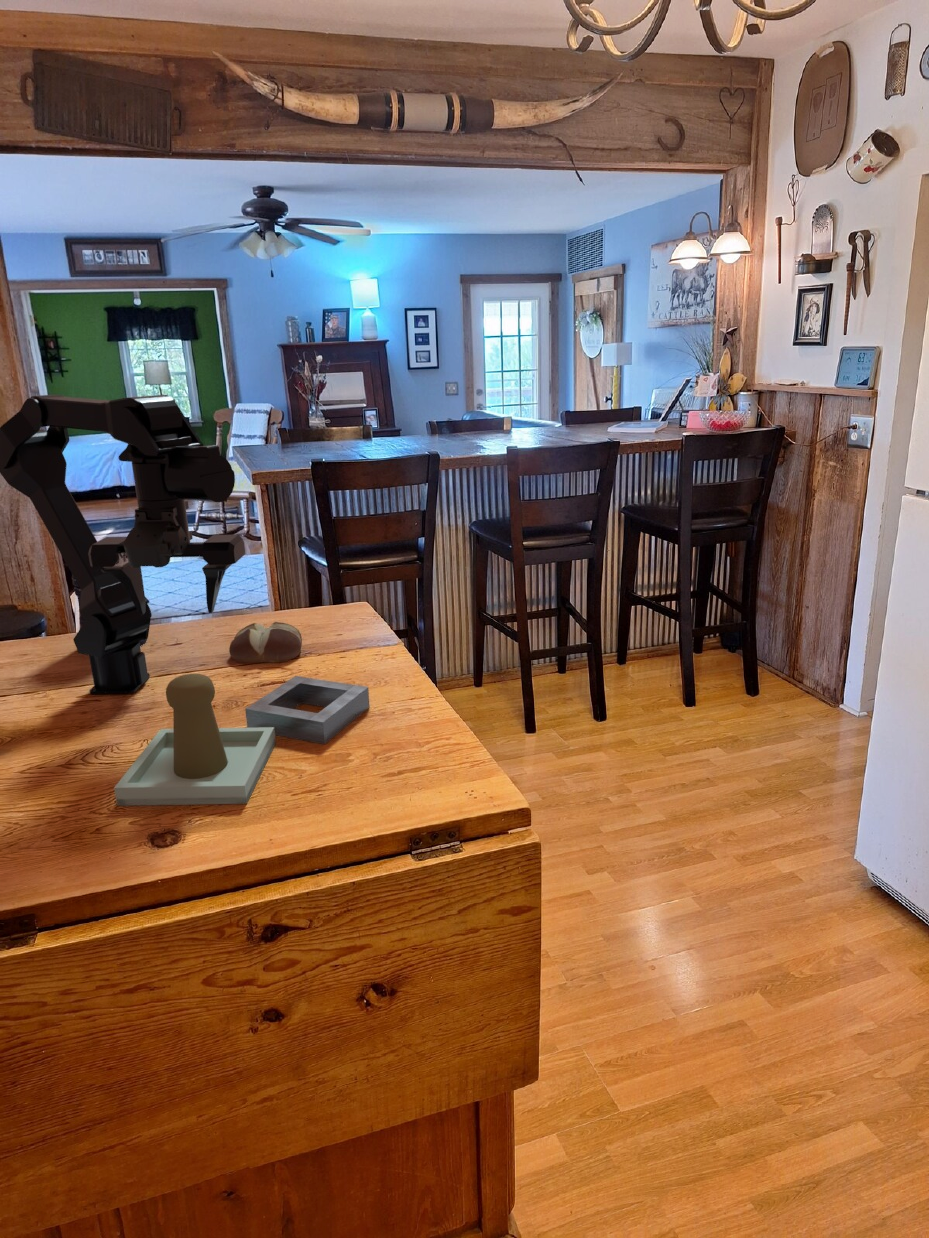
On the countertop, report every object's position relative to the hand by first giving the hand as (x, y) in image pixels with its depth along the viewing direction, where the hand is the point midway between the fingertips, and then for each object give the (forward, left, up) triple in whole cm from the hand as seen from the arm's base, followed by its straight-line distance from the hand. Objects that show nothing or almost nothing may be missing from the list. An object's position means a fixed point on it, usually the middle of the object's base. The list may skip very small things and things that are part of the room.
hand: (177, 612), depth 109 cm
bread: (+7, +19, -14) cm, 24 cm away
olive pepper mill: (+8, -20, -12) cm, 25 cm away
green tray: (+8, -20, -13) cm, 25 cm away
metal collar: (+18, -6, -13) cm, 23 cm away
